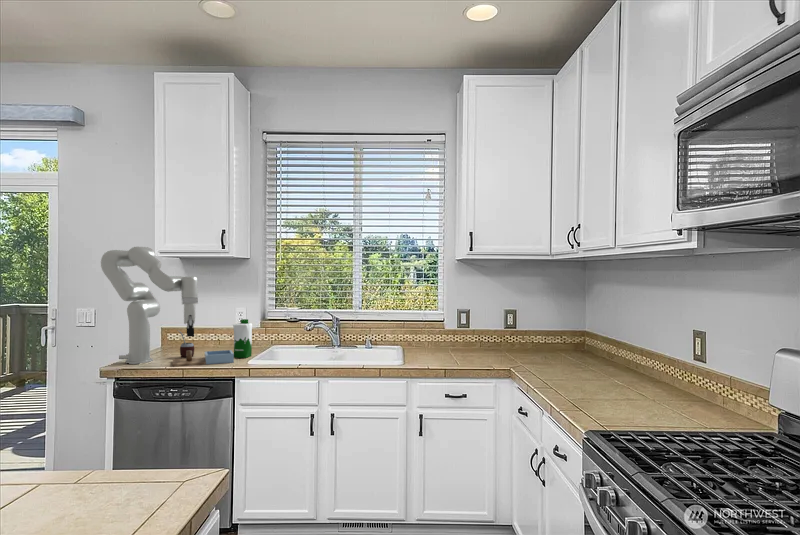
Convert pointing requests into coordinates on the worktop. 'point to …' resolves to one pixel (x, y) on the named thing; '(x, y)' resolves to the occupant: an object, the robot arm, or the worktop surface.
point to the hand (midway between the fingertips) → (190, 335)
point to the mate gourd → (186, 348)
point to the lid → (189, 360)
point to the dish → (219, 357)
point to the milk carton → (243, 339)
